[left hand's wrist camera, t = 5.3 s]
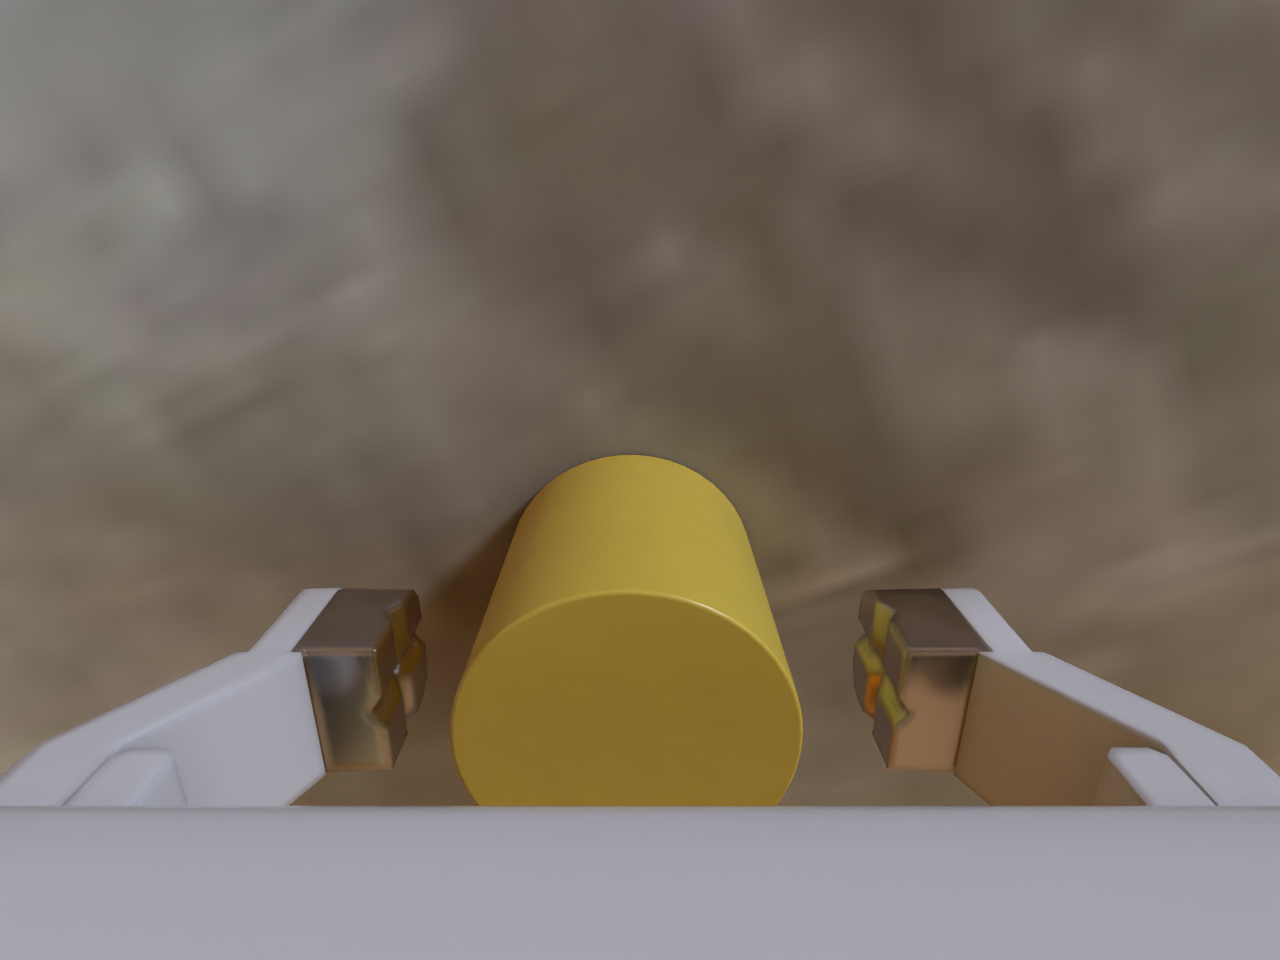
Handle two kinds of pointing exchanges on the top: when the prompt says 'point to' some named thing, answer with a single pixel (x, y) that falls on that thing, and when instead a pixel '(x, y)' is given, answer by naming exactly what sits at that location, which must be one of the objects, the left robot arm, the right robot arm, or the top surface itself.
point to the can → (628, 653)
